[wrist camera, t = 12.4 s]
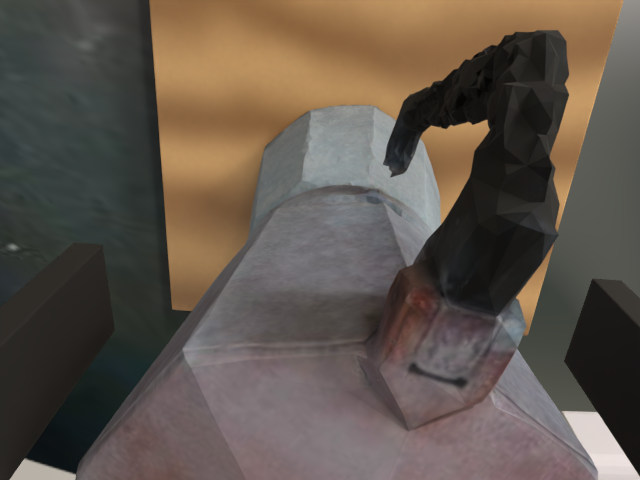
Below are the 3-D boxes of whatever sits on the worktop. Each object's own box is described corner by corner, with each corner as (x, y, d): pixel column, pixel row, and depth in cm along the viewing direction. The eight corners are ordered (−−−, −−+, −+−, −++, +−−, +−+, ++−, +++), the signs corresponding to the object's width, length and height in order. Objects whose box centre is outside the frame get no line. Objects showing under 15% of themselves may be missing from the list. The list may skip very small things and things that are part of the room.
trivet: (148, -117, 20) (139, -123, 19) (635, -85, 20) (650, -90, 19) (177, 300, 28) (171, 310, 27) (522, 325, 28) (528, 335, 27)
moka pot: (223, 296, 27) (-22, 882, 9) (278, -10, 20) (-207, -257, 2) (390, 333, 27) (494, 954, 9) (493, 46, 21) (1476, 206, 3)
